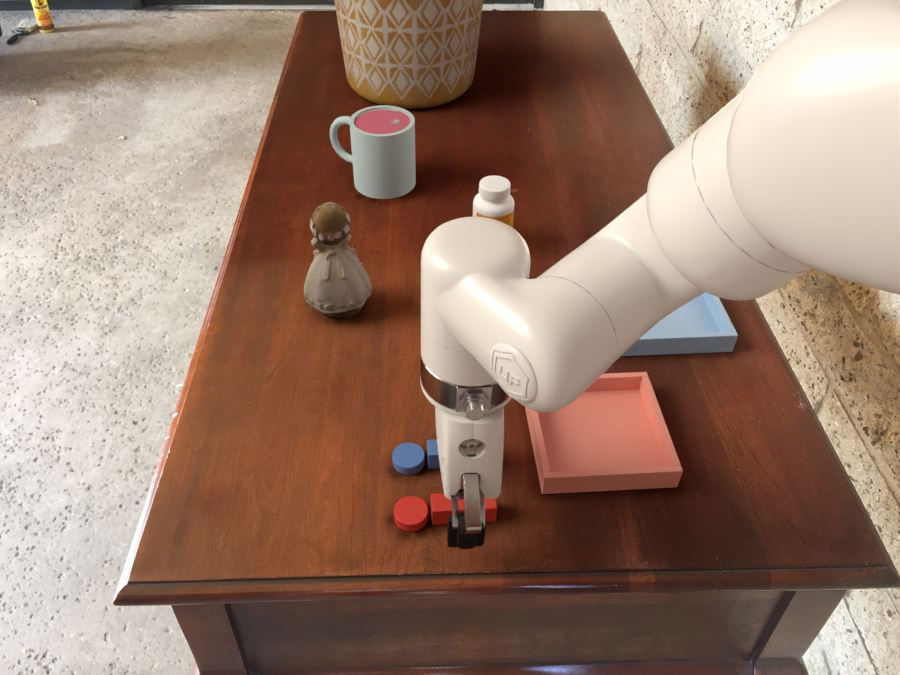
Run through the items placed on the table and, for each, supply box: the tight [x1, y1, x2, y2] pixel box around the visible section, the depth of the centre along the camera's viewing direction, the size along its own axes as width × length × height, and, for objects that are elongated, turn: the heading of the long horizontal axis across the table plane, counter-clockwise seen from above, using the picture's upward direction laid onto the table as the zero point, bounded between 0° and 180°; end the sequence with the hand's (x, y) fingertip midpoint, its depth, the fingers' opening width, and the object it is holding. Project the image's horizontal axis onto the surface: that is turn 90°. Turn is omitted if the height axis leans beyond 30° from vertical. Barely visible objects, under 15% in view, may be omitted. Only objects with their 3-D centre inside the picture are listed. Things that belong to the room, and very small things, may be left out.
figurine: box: [303, 201, 373, 320], centre depth 90 cm, size 8×7×15 cm
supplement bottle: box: [471, 174, 515, 228], centre depth 102 cm, size 5×5×10 cm
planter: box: [333, 0, 484, 110], centre depth 133 cm, size 26×26×22 cm
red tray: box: [524, 371, 684, 495], centre depth 80 cm, size 13×13×3 cm
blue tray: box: [620, 292, 739, 357], centre depth 94 cm, size 13×13×3 cm
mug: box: [329, 104, 417, 200], centre depth 114 cm, size 14×9×10 cm
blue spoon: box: [391, 438, 440, 476], centre depth 77 cm, size 3×10×2 cm, turn 94°
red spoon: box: [393, 492, 498, 533], centre depth 72 cm, size 3×10×2 cm, turn 94°
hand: (460, 497), depth 72 cm, fingers open, 9 cm apart
